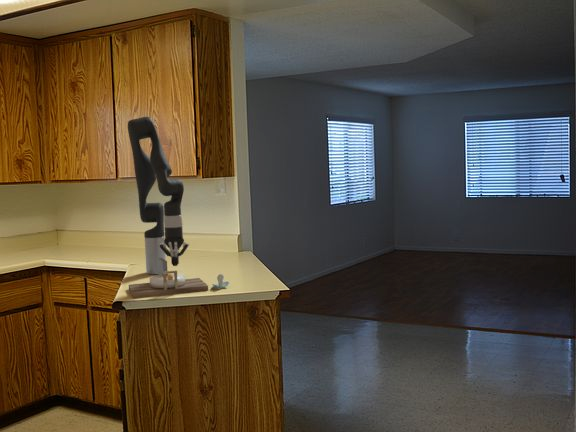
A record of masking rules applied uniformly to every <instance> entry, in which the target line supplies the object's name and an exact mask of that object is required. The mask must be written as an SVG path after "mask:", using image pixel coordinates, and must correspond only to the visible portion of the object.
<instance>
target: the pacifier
mask: <svg viewBox="0 0 576 432" xmlns="http://www.w3.org/2000/svg"><path fill="white" fill-rule="evenodd" d="M216 279H217V284H215V283H214V284H211V285H212V286H210V287H211V289H214V290H216V289H217V290H222V289H225V287H227V286H229V284H230V282H229V281H224V274H223V273H219V274H218V275H217V277H216Z"/></svg>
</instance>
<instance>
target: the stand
mask: <svg viewBox="0 0 576 432" xmlns="http://www.w3.org/2000/svg"><path fill="white" fill-rule="evenodd" d="M166 274H174V280H175V287H172V288H167V281H166ZM177 274H178V270H167V271H164V272H163V281H164V288H153V287H150V282H142V283H133V284H128V291H129V292H130V294H132V295H131V296H133V297H132V299H137V297H139V298H146V297H149V298H150V297H158V296H167V295H175V294H176V295H178V294H186V293H195V292H196V293H197V292H206V291H209V285H208V284H207V283H205V281H204V280H202V279H201V278H200V277H195V278H185V284H184V285H182V286H178V280H177Z"/></svg>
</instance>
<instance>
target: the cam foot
mask: <svg viewBox="0 0 576 432" xmlns="http://www.w3.org/2000/svg"><path fill="white" fill-rule="evenodd" d="M156 265H157V272H158V273H159V274H156V275H153V276H151V277H150V278H149V283H150V287H153V288H164V281H163V272H164V271H168V261H167V259H166V260H164V259H162V258H161V257H157V258H156ZM185 279H186V276H185V274H182V273H177V280H178V286H182V285H184V284H185ZM166 281H167V288H172V287H175V280H174V273H171V274H166Z"/></svg>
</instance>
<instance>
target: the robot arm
mask: <svg viewBox="0 0 576 432" xmlns="http://www.w3.org/2000/svg"><path fill="white" fill-rule="evenodd" d="M127 132H128V133H127V134H128V137H129V138H128V139H129V142H130V147H131V152H132V157H133V167H134V176H135V180H136V181H135V182H136V189H137V193H138V205H139V206H138V208H139V217H140V221H141V222H142V223H146V224H147V223H148V224H149V223H156V225H155V226H153V227H152V228H149V229H147V230H145V231H144V233H143V234H144V250H145V268H146V269H145V271H146V274H147V275H160V274H159V273H158V272H157V265H156V258H157V257H161V258H162V259H164V260H166V261H167V259H166V256H167V257H170V259H171V265H172V267H177V266H178V265H179V264H180V262H179V261H180V260H179V259H180V257H181V256H182V255H184V253H185V252H186V251H187V249H188V248H189V246H190V243H187V242H185V238H184V236H183V234H184V232H183V220H182V219H183V218H182V208H181V207H182V201H183V195H184V189H185V187H184V184H183V181H182V180H181V179H179V178H169V177H170V176H171V175H172V173H173V170H172V168H171V164H170V163H169V162H168V159H167V157H166V155H165V152H164V150H163V147H162V143H161V140H160V138H159V134H158V130H157V128H156V125H155V123H154V120H152V118H151V117H150V116H142V117H137V118H132V119H130V120H128V121H127ZM148 138H150V140H151V151H150V156H149V155H148V154H147V153H146V152H145V151H144V149H143V147H142V146H141V143H140V140H145V139H148ZM168 178H169V179H168ZM156 182H157V189H158V191H159V193H160V194H161V195H162V196H165V197H170V200H169V201H166V202H165V203H164V204H163V203H162V202H147V198H148V195H149V193H150V191H151V190H152V188H153V187H154V185H155V183H156ZM181 247H182V248H181ZM180 248H181V250H180Z"/></svg>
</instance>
